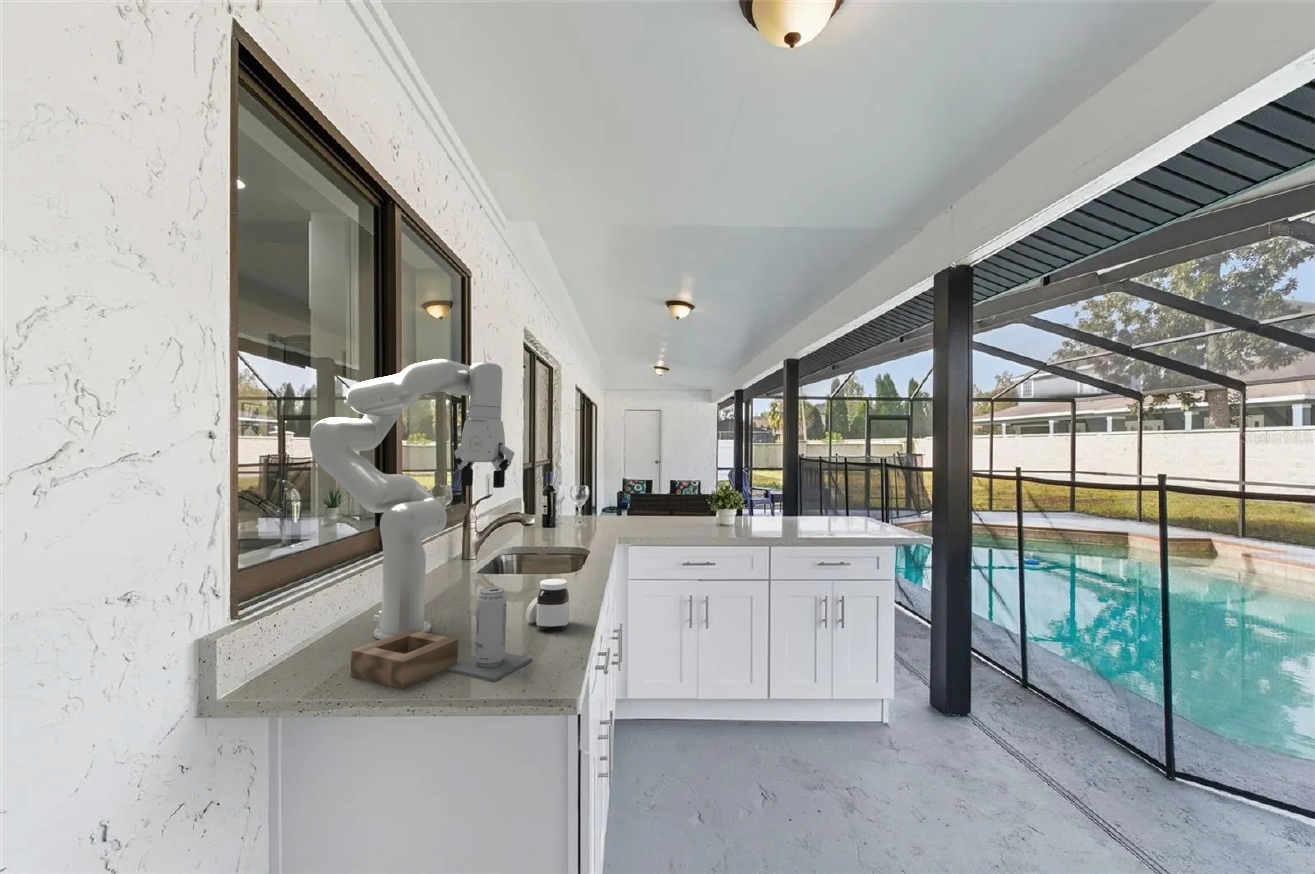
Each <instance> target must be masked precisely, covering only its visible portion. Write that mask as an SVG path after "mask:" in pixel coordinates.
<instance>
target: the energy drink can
mask: <svg viewBox="0 0 1315 874" xmlns="http://www.w3.org/2000/svg"><path fill="white" fill-rule="evenodd" d="M504 591H505V588H504V587H498V586H493V587H491V586H490V587H484V588H481V589H479V593H478V595H477V597H476V601H475V604H476V605H475V606H476V607H475V610H476V611H475V641H474V642H475V643H474V655H475V661H476V662H477V664H478V665H479V666H481V667H493V666H497V665H499V664H501V663H502V660H503V659H504V658H505V653H506V634H507V633H506V632H507V631H506V630H507V628H506V627H507V600H508V599H507V598H508V597H507V595H506V593H505V592H504Z"/></svg>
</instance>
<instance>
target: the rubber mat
mask: <svg viewBox="0 0 1315 874" xmlns="http://www.w3.org/2000/svg"><path fill="white" fill-rule="evenodd" d="M532 661H533V657H530V656H525V655H520V654H516V653H515V654H514V653H510V652H509V653H508V652H505V658H504V659H503V660H502V663H501V664H499V665H497V666H493V667H481V666H479V665H478V664H477V662H476V661H475V654H474V655H472V656H470V657H467V658H466V659H463V660H461V661H459V662H458V663H457V664H454V665H452V666H450V667H448V668H447V669H446V672H451V673H454V674H458V675H463V676H467V677H472V678H477V679H480V680H485V681H490V682H497V681H498V680H500V679H501V678H503V677H506V676H508V675H509V674H510V673H512V672H514V671H517V669H520V668H521V667H523V666H525V665H527V664H529V663H530V662H532Z"/></svg>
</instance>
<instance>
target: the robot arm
mask: <svg viewBox="0 0 1315 874" xmlns="http://www.w3.org/2000/svg"><path fill="white" fill-rule="evenodd" d="M436 392H441V393H442V392H443V393H444V392H445V393H448V394H449V393H450V394H452V395H458V396H468V410H466V412H465V414H466V416H468V417H467V420H464V421H465V422H464V423H463V428H462V435H461V442H460V443H461V444H460V447H459V448H457V449H455V450H454V451H453V453H454V456H455V459H456V463H457V465H459V470H461V473H460V474H461V478H460V479H461V481H460V486H462V487H469V486H470V487H472V486H473V483H474V482H473V481H474V479H473V478H474V469H472V467H473V466H474V464H475V463H491V464H492V466H493V467H494V469H495V470H493V477H492V479H493V480H492V483H493V484H492V487H493V488H494V489H501V488H505V482H506V481H505V480H506V479H505V478H506V476H505V475H506V471H507V470H508V468H509V466H510V465H512V460H513V459H514V456H515V452H514V451H513V450H512V449H510V448H508V447H507V446H506V438H505V436H506V435H505V427H504V423H503V420H502V403H503V401H502V398H503V397H502V396H503V369H502V366H500V364H497V363H493V362H475V363H473V364H471V365H467V364H464V363H460V362H457V361H454V360H451V359H450V360H449V359H444V358H437V359H436V358H435V359H431V360H427V361H426V360H425V361H422V362H417V363H416V362H415V363H413V364H410V365H409V366H407V367H405V368H404V369H402V371H400V372H399V373H395V374H392V375H388V376H383V377H376V378H374V379H368V380H365V381H361V382H358V383H356V384H353V385H352V386H351V387H350V388H349V389H348V391H347V392H346V402H347V404H348V407H350V408H351V410H353V411H354V412H356V413H358V414H361V415H364V416H363V417H362V418H352V417H351V418H350V417H343V416H342V417H341V416H340V417H339V416H338V417H336V416H334V417H327V418H324V419H321V420H319V421H318V422H316V423H315V424H314V425H313V426H312V428H311V431H310V434H309V447H310V451H311V454H312V457H313V458H314V460H315V461H316V463H317V464H318V465H319V467H320V468H321V469H322V470H324V471H325V472H326V473H327V474H328V475H329V476H330V477H332V478H333V479H334V480H335V481H336V482H338V484H340V486H341V487H342V488H343V489H344V490H345V491H347V493H349V494H350V496H351V497H352V498H353V499H355V501H356V502H357V503H358V504H360V506H362V507H363V508H364V509H365V510H367V511H368V512H370V513H374V514H375V513H378V514H379V513H382V516H381V517H380V521H379V531H380V537H381V543H382V552H383V553H382V554H383V555H382V558H383V559H382V589H381V590H382V592H381V593H382V594H381V610H379V611H378V612H377V614H374V615H373V617H372V620H373V621H375V622H378V627H376V628H374V630H373V637H374V638H375V639H378V640H382V639H384V638H387V637H390V636H393V635H396V634H399V633H401V632H404V631H407V630H414V631H419V632H424V633H429V632H430V631H431V629H432V628H431V627H432V626H431V623H429V622H428V621H425V604H426V603H425V602H426V601H425V600H426V597H425V596H426V571H427V568H426V565H427V561H426V560H427V558H426V557H427V556H426V552H425V548H424V545H423V543H422V539H425V538H429V537H434V536H436V535H438V534H439V533H441V532H442V531H443V530H444V529H445V528H446V526H447V521H448V516H447V515H448V514H447V511H446V509H445V507H444V506H443V505H442V504H441V502H440V501H439V500H438V499H437V498H436V497H435V496H434V495H433V494H432V493H430V491H428V490H427V489H426V488H425V487H424V486H423V485H422V484H421V483H420V482H418V480H416V478H413V477H411V476H409V475H407V474H402V473H398V474H397V473H396V474H395V473H393V474H388V473H384V472H382V471H380V470H379V469H378V468H376V467H375V465H373V464H372V463H371V462H370V461H369V459H367V458H366V457H364V456H363V455H360V454H359V453H356V452H367V451H371V450H374V449H375V448H377V447H378V446H379V445H380V444H381V443H382V442H383V440H385V437H386V436H387V434H388V433H389V432H390V430H391V429H392V427H394V424H395V423H396V421H398V418H399V417H400V416H401V414H402V412H403V410H404V409H405V408H410V407H413V406H415V405H416V404H417V403H418V401H419V397H420V396H421V395H426V394H430V393H436ZM355 451H356V452H355Z"/></svg>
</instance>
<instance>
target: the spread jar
mask: <svg viewBox="0 0 1315 874" xmlns="http://www.w3.org/2000/svg"><path fill="white" fill-rule="evenodd" d="M539 588H540V589H539V591H538V593H537V596H536V597H534V599H532V601H531V602H530V603H529V605H528V606H527V608H526V610H525V612H524V613H525V615H524V617H525V620H526V621H527V622H529V623H530V624H534V623H536V627H537V629H539V630H540V631H541V632H547V633H549V632H550V633H555V632H560V631H563V630H565V629H567V627H568V625H569V624H568V623H569V617H570V616H569V615H570V607H569V606H570V593H569V589H568V580H566V579H564V578H548V579H543V580H541V581H540V582H539Z"/></svg>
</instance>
